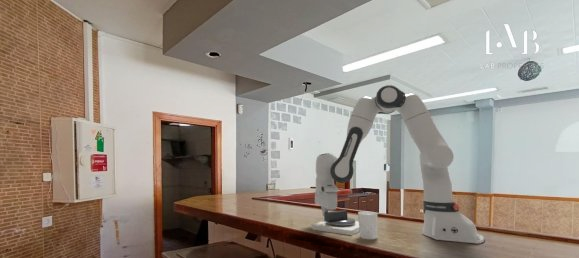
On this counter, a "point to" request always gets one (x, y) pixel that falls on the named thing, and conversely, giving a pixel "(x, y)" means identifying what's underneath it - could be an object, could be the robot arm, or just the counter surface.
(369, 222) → the white cup
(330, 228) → the dial panel
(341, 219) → the dial
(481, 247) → the counter surface
